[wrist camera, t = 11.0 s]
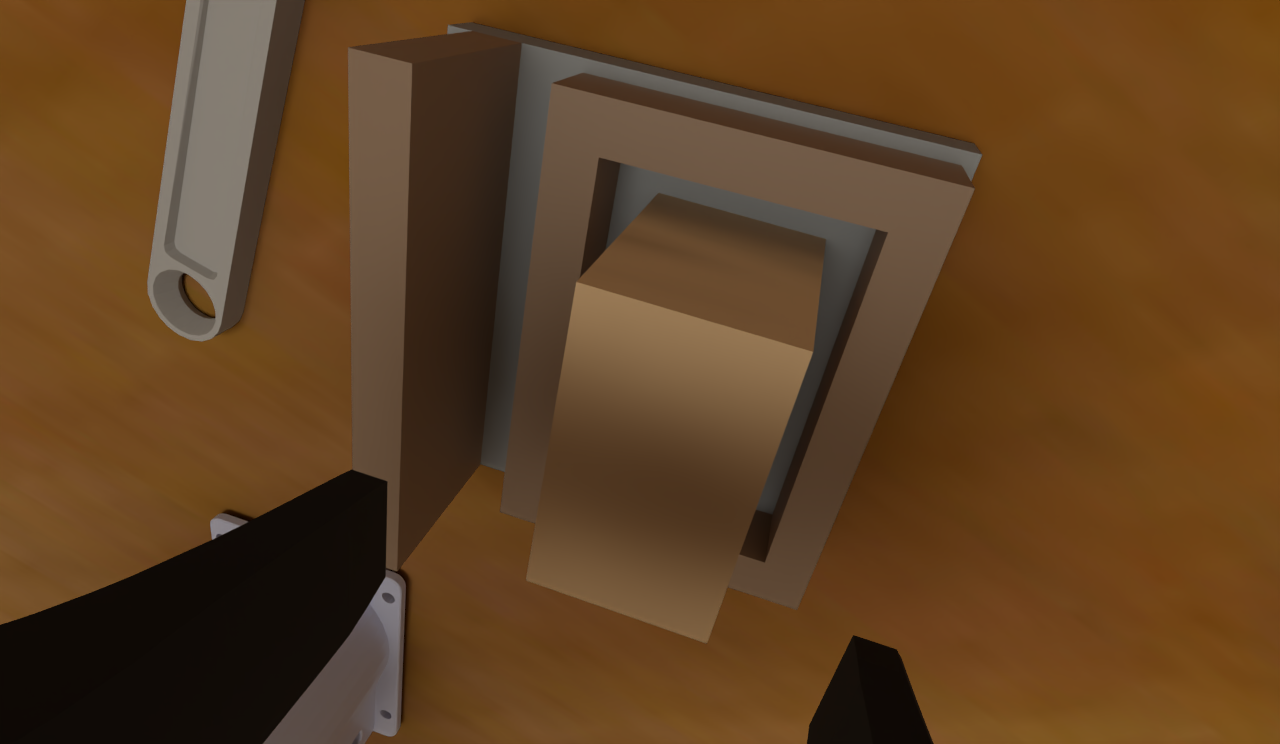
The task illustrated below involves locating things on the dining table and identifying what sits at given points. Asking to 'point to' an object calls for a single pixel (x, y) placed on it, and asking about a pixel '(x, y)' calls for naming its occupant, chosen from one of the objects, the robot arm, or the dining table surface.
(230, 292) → the adjustable wrench
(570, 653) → the dining table surface
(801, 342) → the light wooden block
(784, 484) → the stand
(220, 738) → the robot arm
